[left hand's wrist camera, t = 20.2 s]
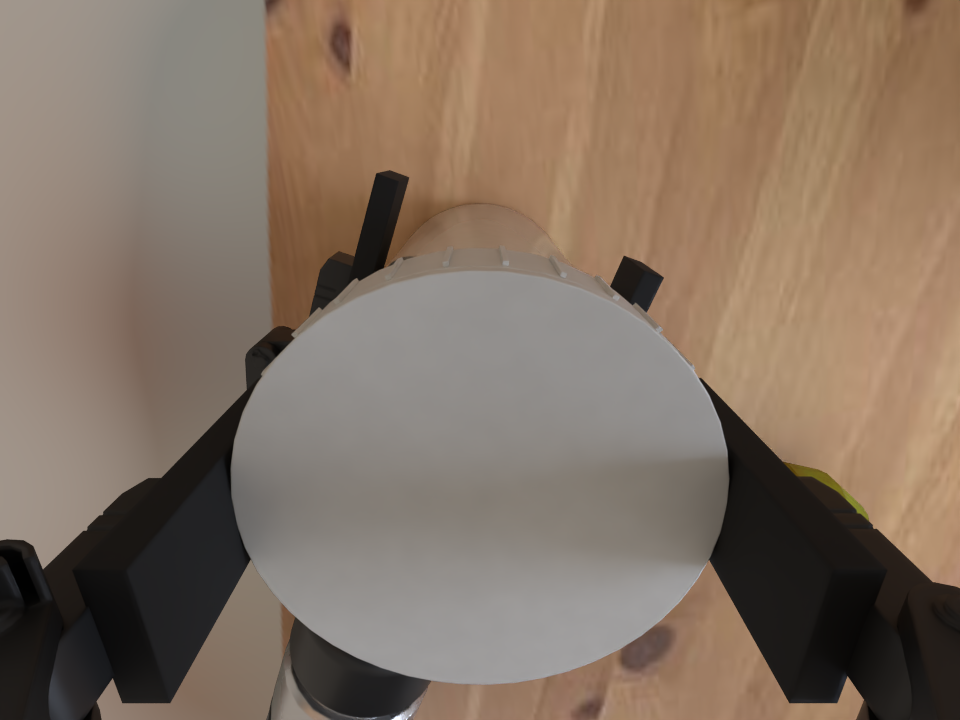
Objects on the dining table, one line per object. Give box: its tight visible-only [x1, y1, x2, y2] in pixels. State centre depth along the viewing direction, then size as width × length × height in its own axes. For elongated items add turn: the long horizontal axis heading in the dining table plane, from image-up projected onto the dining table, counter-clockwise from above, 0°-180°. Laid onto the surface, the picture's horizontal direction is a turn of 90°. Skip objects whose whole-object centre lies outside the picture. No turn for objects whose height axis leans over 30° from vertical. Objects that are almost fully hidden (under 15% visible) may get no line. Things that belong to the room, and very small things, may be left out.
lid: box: [230, 245, 729, 685], centre depth 11 cm, size 10×10×2 cm
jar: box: [387, 204, 574, 268], centre depth 19 cm, size 9×9×16 cm
